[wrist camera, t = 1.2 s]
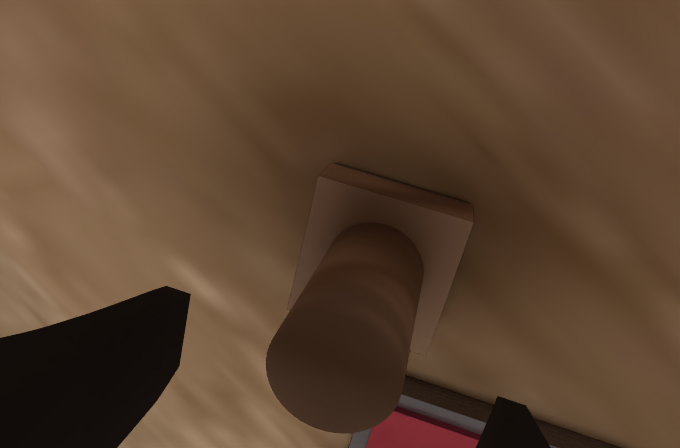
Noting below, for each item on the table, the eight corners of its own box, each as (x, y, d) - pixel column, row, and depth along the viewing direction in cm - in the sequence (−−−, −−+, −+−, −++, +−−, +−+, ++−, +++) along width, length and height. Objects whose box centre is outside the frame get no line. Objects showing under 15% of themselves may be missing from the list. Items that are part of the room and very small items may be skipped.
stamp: (473, 200, 19) (475, 317, 12) (430, 323, 21) (408, 492, 14) (334, 159, 20) (249, 245, 12) (304, 282, 22) (214, 422, 14)
